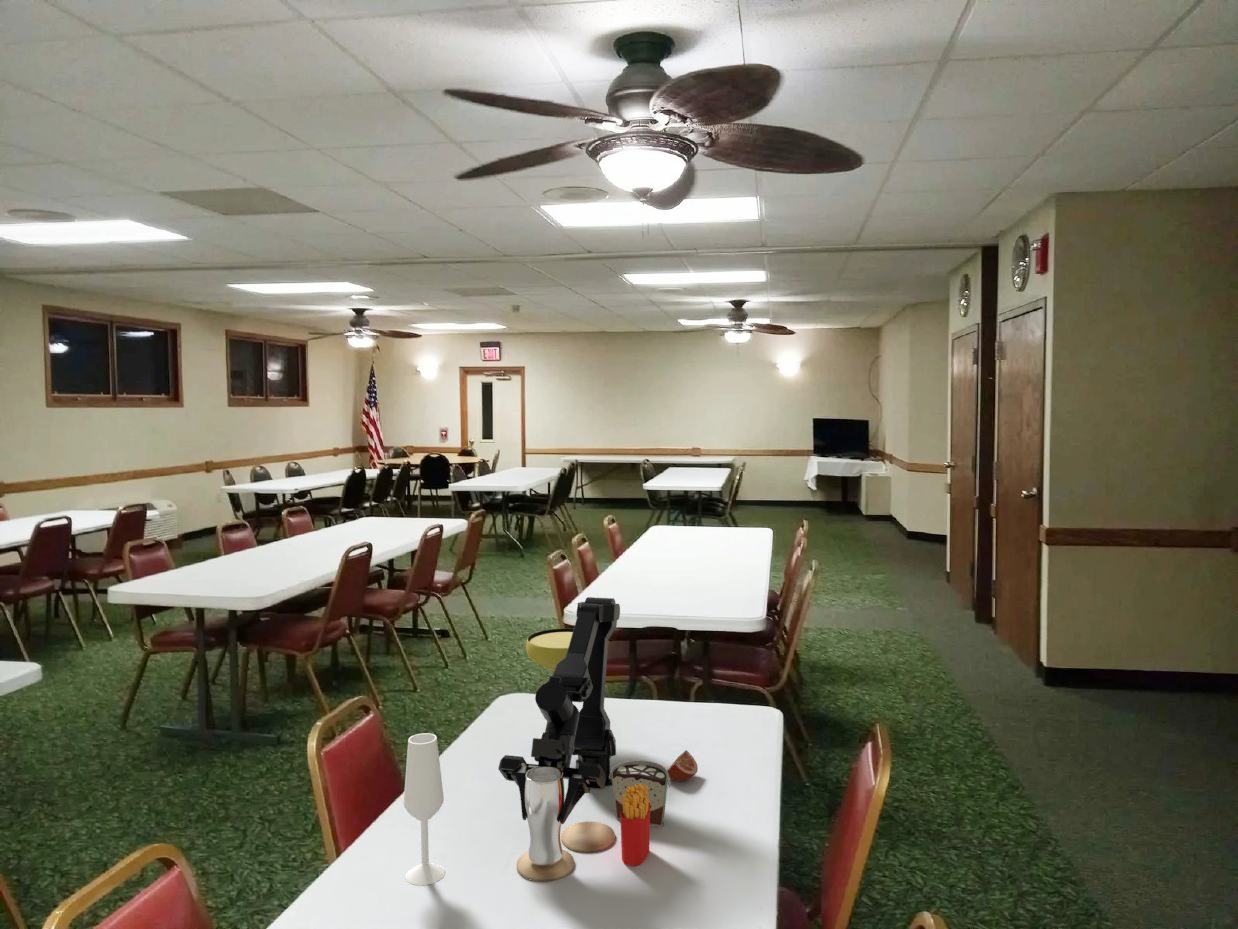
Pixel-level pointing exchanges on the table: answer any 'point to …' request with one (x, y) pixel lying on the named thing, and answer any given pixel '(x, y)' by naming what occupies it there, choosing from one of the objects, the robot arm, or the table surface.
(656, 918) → the table surface
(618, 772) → the food container
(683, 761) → the fruit slice
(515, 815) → the table surface
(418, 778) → the champagne flute
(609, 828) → the coaster
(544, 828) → the beer glass
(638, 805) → the french fries
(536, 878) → the coaster
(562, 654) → the cocktail glass
